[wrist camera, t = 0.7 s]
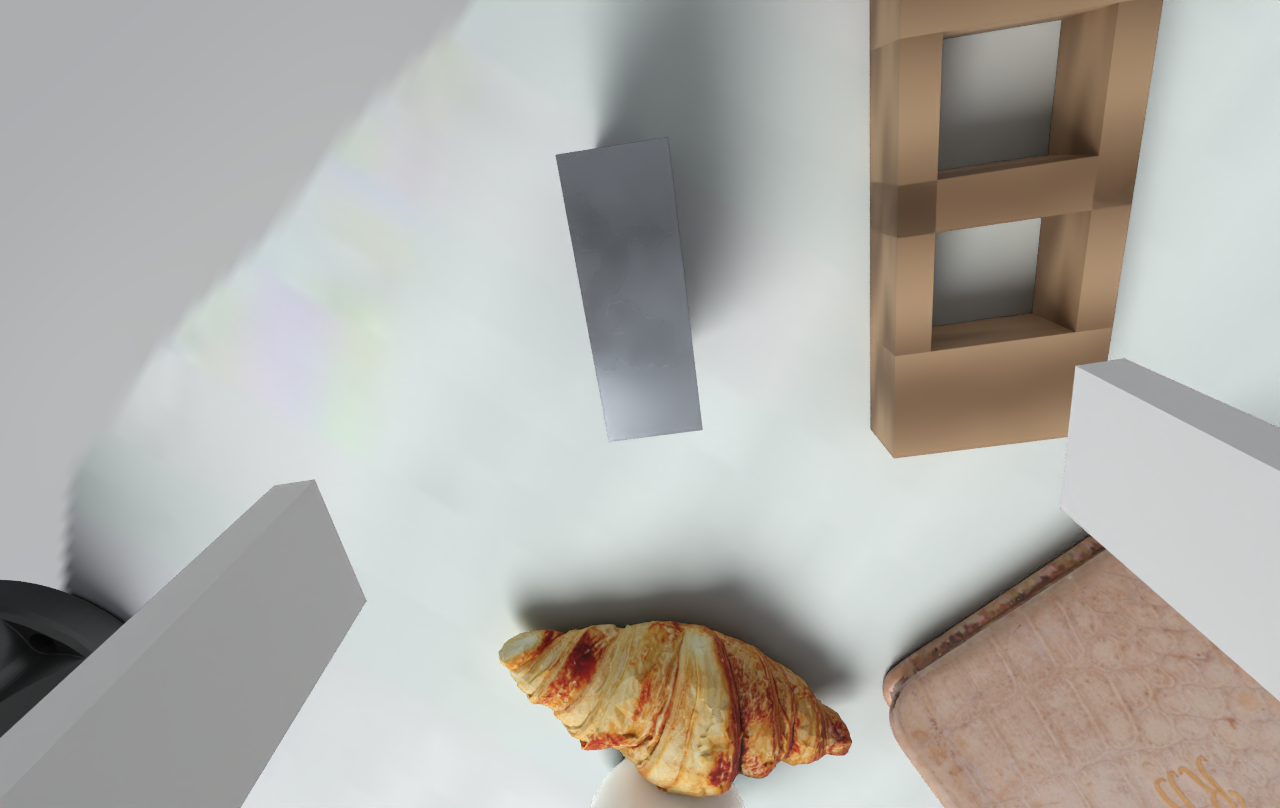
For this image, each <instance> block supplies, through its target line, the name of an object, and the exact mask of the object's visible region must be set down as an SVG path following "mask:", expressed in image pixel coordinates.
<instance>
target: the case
mask: <svg viewBox="0 0 1280 808" xmlns="http://www.w3.org/2000/svg"><path fill="white" fill-rule="evenodd" d="M883 696H884V698H885V701H886V703H887V704H888V706H889V707H890V711H889V720H890V726H891V729H892V732H893V735H894V737H895V739H896V741H897V742H898V744H899V746H900V747H901V749H902V750H903V751H904V753H905V754H906V756H907V757H908V758H909V760H910V761H911V763H912V764H913V765H914V767H915V768H916V770H917V771H918V772H919V774H920V775H921V777H922V778H923V779H924V781H925V782H926V783H927V784H928V786H929V787H930V788H931V790H932V791H933V793H934V794H935V795H936V797H937V798H938V799H939V801H940V802H941V804H942V805H943V806H944V808H1280V701H1279V700H1277V699H1276V698H1275V697H1274V696H1273V695H1272V694H1271V693H1269V692H1268V691H1267V690H1266V689H1265V688H1264V687H1263V686H1261V685H1260V684H1259V683H1258V682H1257V681H1256V680H1255V679H1254V678H1252V677H1251V676H1250V675H1249V674H1248V673H1247V672H1246V671H1244V670H1243V669H1242V668H1241V667H1240V666H1239V665H1238V664H1236V663H1235V662H1234V661H1233V660H1232V659H1231V658H1230V657H1228V656H1227V655H1226V654H1225V653H1224V652H1223V651H1222V650H1221V649H1219V648H1218V647H1217V646H1216V645H1215V644H1214V643H1213V642H1211V641H1210V640H1209V639H1208V638H1207V637H1206V636H1205V635H1203V634H1202V633H1201V632H1200V631H1199V630H1198V629H1197V628H1196V627H1194V626H1193V625H1192V624H1191V623H1190V622H1189V621H1188V620H1186V619H1185V618H1184V617H1183V616H1182V615H1181V614H1180V613H1178V612H1177V611H1176V610H1175V609H1174V608H1173V607H1172V606H1170V605H1169V604H1168V603H1167V602H1166V601H1165V600H1164V599H1163V598H1161V597H1160V596H1159V595H1158V594H1157V593H1156V592H1155V591H1153V590H1152V589H1151V588H1150V587H1149V586H1148V585H1147V584H1145V583H1144V582H1143V581H1142V580H1141V579H1140V578H1139V577H1137V576H1136V575H1135V574H1134V573H1133V572H1132V571H1131V570H1130V569H1128V568H1127V567H1126V566H1125V565H1124V564H1123V563H1122V562H1120V561H1119V560H1118V559H1117V558H1116V557H1115V556H1114V555H1112V554H1111V553H1110V552H1109V551H1108V550H1107V549H1106V548H1105V547H1103V546H1102V545H1101V544H1100V543H1099V542H1098V541H1097V540H1095V539H1094V538H1093V537H1092V536H1089V537H1087V538H1086V539H1084V540H1083V541H1081V542H1080V543H1078V544H1077V545H1075V546H1074V547H1073V548H1071V549H1070V550H1068V551H1067V552H1065V553H1063V554H1062V555H1061V556H1059V557H1058V558H1056V559H1055V560H1053V561H1052V562H1050V563H1048V564H1047V565H1045V566H1044V567H1043V568H1041V569H1040V570H1038V571H1037V572H1035V573H1033V574H1032V575H1030V576H1029V577H1027V578H1026V579H1025V580H1023V581H1022V582H1020V583H1019V584H1017V585H1016V586H1014V587H1012V588H1011V589H1009V590H1008V591H1006V592H1005V593H1003V594H1002V595H1000V596H999V597H997V598H996V599H995V600H993V601H992V602H990V603H989V604H987V605H986V606H984V607H982V608H981V609H979V610H978V611H976V612H975V613H973V614H972V615H970V616H969V617H967V618H966V619H965V620H963V621H961V622H960V623H958V624H956V625H955V626H953V627H952V628H951V629H949V630H948V631H947V632H945V633H944V634H942V635H941V636H939V637H937V638H936V639H934V640H933V641H931V642H929V643H928V644H926V645H925V646H923V647H922V648H920V649H919V650H917V651H916V652H914V653H913V654H911V655H910V656H908V657H907V658H906V659H904V660H903V661H901V662H900V663H898V664H897V665H896V666H894V667H893V668H892V669H891V670H890V671H889V672H888V674H887V675H886V677H885V679H884V682H883Z"/></svg>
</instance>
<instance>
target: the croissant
mask: <svg viewBox="0 0 1280 808" xmlns="http://www.w3.org/2000/svg"><path fill="white" fill-rule="evenodd" d="M499 659H500V663H501V664H503V665H504V666H506V667H507V668H508V669H509V670H510V672H511V676H512V677H513V679H514V680H515V681H516V682H518V684H517V686H518V687H519V688H520V689H521V690H522V691H523V692H524V693H526V694H527V697H528V699H529V701H530V702H532V703H533V704H542V705H545V706H548V707H549V708H551V709H552V710H554V715H555V716H556V717H557V718H558V719H559V720H561V721H562V723H563V725H564V726H565V727H566V728H567V730H568V732H569V733H570V734H571V736H572V737H575V738H577V739H580V743H581V747H582V749H584V750H600V749H605V748H611V747H612V748H613V749H616V750H619V751H620V752H621V753H622V754H623V755H624V757H625V758H626V759H628V760H629V761H631V762H632V763H633V764H635V766H636V768H637V770H638V772H639V773H640V774H641V776H642V777H644V778H645V779H646V780H648V781H650V782H651V783H653V784H655V785H656V786H657V789H658V790H660V791H663V792H667V793H672V794H679V795H686V796H691V797H704V796H714V795H718V796H719V794H721V795H722V794H724V793H725V792H726V791H728V790H729V789H730V787H731V785H732V782H733V781H734V779H735V777H736V776H737V775H738V773H739V774H743V775H746V776H748V777H753V778H764V777H766V776H768V774H769V773H770V772H771V771H772V770H773V769H774V768H775V767H776V764H777V763H778V762H780V761H781V760H782V761H784V762H786V763H788V764H790V765H792V766H794V765H797V764H809V763H812V762H814V761H816V760H819V759H820V758H821V757H823V756H824V755H825V754H830V755H837V756H838V755H845V754H846V753H848V750H849V748H850V746H851V744H852V740H851V738H850V733H849V731H848V729H847V727H846V724H845V723H844V722H843V721H842V719H841V718H840V716H839V714H838V713H837V712H835V711H834V710H832V709H831V708H829V707H827V706H825V705H824V704H822V703H821V701H820V700H818V699H816V698H815V696H814V693H813V692H812V691H811V689H810V688H809V687H808V685H807V684H806V682H805V681H804V680H803V679H802V678H801V677H800V676H799V675H796V674H794V673H793V671H792V670H790V669H788V668H787V667H785V666H784V665H782V664H780V663H778V662H775V661H774V660H772V659H771V658H769V657H768V656H767V655H765V654H764V653H762V652H761V651H760V650H759V649H758V648H757V647H755V646H754V645H751V644H749V643H746V642H744V641H741V640H739V639H736V638H733V637H730V636H726V635H724V634H722V633H720V632H718V631H716V630H713V631H712V630H710V629H709V628H708V627H706V626H702V625H695V624H684V623H678V622H676V621H664V620H663V621H651V622H645V623H639V624H634V625H631V626H630V625H628V624H627V625H626V627H625V628H618V627H616V626H615V625H613V624H605V625H591V626H590V627H587V628H583V629H581V630H577V629H574V630H570V631H568V632H567V633H566V634H563V633H561V632H558V631H555V630H552V629H546V630H536V631H529V632H525V633H520V634H519V635H517V636H515V637H513V638H511V639H509V640H508V641H507V642H506V643H505V644H504V645H503V647H502V649H501V650H500V651H499Z"/></svg>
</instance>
